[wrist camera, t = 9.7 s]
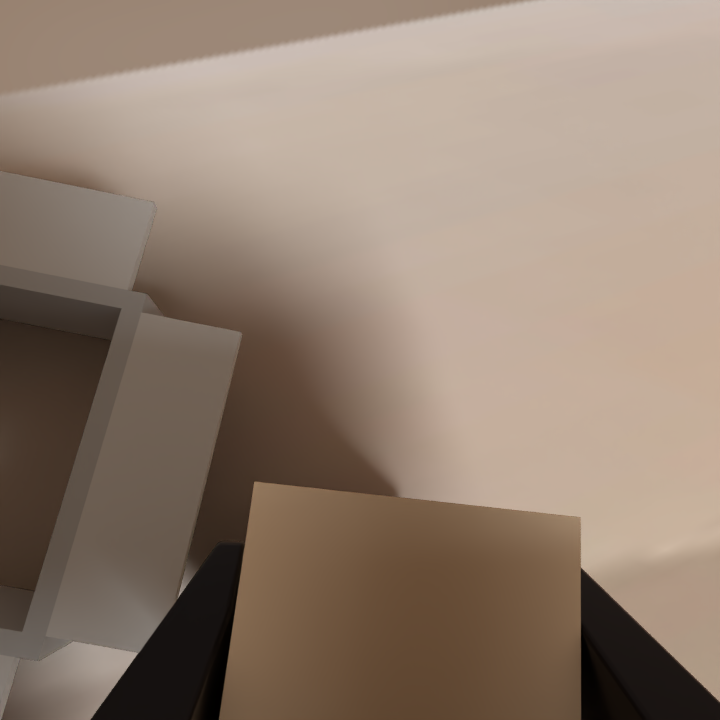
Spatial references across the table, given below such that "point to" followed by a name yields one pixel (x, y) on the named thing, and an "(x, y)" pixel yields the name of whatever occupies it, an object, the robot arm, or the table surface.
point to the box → (403, 611)
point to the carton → (110, 422)
